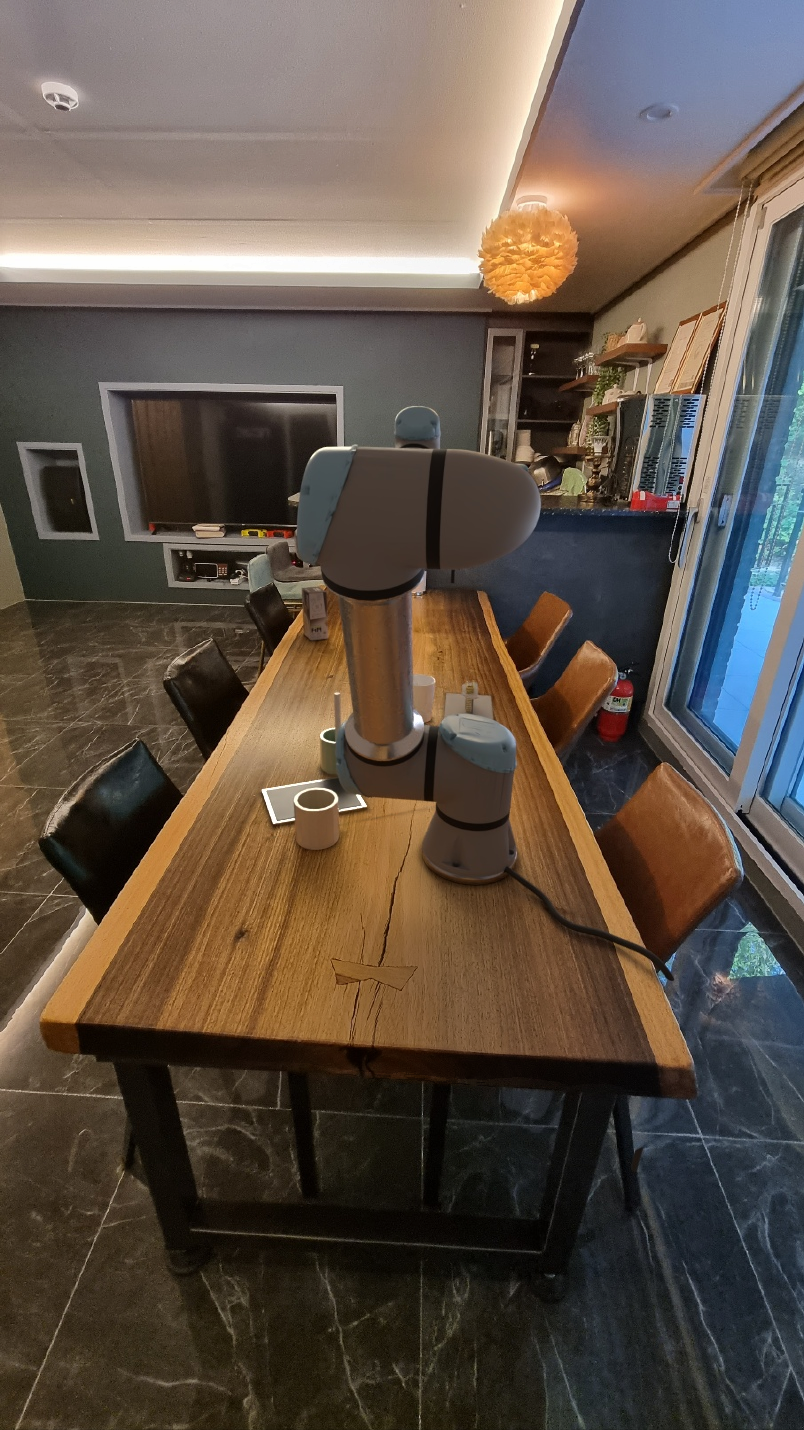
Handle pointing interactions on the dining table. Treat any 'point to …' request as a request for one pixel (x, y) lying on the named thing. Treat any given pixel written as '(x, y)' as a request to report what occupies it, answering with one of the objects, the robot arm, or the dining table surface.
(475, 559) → the robot arm
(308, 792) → the pen cup cream
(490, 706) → the platform
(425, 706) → the white cup
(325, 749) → the pen cup green
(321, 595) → the coffee box
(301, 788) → the tablet
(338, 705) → the stylus
